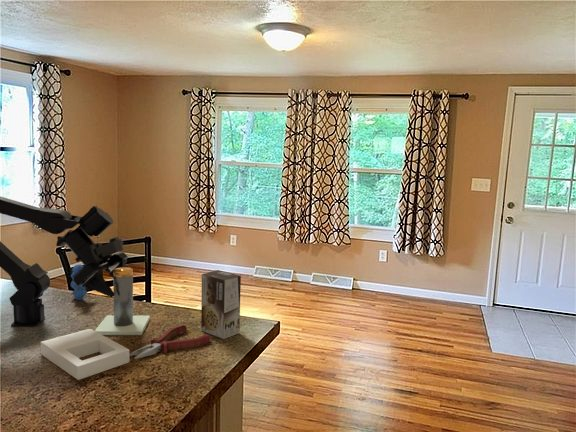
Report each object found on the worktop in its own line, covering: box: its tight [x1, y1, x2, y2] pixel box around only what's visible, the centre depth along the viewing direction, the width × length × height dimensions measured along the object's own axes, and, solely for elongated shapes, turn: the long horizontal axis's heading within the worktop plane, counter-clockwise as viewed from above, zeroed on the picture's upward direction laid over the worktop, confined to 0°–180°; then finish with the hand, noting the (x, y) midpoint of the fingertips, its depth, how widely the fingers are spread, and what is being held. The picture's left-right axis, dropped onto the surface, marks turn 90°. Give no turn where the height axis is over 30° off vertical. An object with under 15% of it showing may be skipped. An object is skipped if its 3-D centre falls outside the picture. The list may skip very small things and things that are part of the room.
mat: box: [94, 314, 151, 336], centre depth 129 cm, size 12×12×1 cm
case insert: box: [40, 328, 130, 381], centre depth 109 cm, size 18×12×3 cm, turn 50°
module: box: [112, 266, 134, 326], centre depth 128 cm, size 5×5×15 cm
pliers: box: [129, 324, 211, 360], centre depth 117 cm, size 12×20×3 cm, turn 142°
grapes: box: [70, 263, 88, 301], centre depth 149 cm, size 12×7×12 cm, turn 37°
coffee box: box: [200, 269, 242, 340], centre depth 127 cm, size 9×6×16 cm
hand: (122, 291), depth 128 cm, fingers open, 9 cm apart
